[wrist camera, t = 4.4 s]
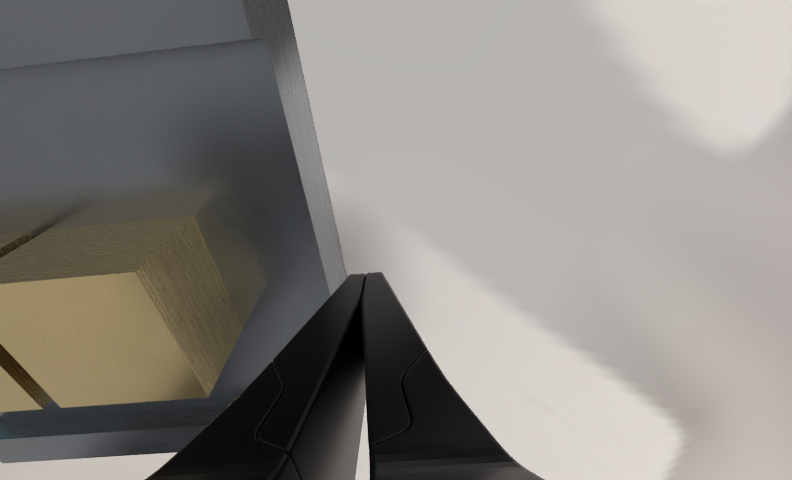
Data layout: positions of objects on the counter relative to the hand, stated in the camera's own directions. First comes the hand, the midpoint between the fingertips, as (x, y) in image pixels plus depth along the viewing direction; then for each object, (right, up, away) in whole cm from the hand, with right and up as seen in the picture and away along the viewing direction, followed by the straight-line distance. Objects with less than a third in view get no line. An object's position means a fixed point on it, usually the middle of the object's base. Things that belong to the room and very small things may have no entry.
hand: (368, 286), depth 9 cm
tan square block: (-6, 0, +1) cm, 6 cm away
